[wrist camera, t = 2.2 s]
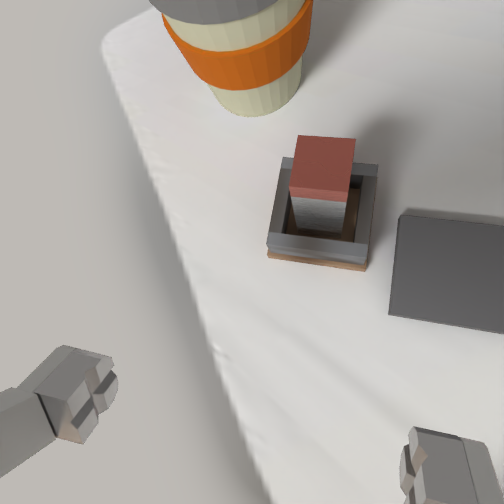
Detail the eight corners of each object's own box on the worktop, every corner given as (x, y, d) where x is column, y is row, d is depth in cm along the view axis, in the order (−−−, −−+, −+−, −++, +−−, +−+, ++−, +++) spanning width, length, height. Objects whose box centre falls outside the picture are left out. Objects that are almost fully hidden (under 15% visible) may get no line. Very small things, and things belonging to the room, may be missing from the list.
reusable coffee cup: (219, 153, 35) (149, 17, 21) (181, 60, 39) (100, -108, 25) (341, 98, 34) (355, -83, 20) (289, 9, 38) (270, -196, 24)
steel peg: (346, 198, 30) (355, 138, 22) (340, 238, 30) (348, 192, 21) (304, 194, 31) (297, 135, 23) (298, 232, 30) (288, 186, 22)
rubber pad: (506, 231, 28) (512, 226, 27) (503, 334, 26) (509, 333, 25) (398, 219, 30) (400, 214, 29) (388, 314, 28) (390, 313, 27)
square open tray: (375, 182, 31) (381, 162, 28) (364, 271, 29) (369, 261, 26) (284, 173, 33) (280, 154, 30) (268, 257, 31) (262, 246, 28)
